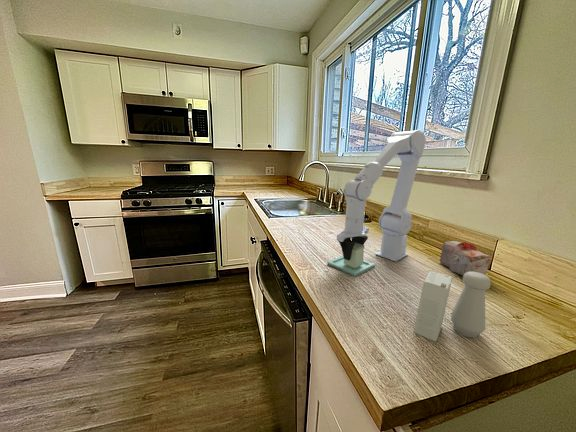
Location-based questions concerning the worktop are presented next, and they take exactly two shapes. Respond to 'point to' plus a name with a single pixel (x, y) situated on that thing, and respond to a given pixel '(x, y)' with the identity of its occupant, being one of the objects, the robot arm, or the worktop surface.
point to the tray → (340, 265)
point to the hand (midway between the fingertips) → (351, 257)
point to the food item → (464, 258)
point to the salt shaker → (471, 305)
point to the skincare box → (432, 305)
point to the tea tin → (356, 256)
